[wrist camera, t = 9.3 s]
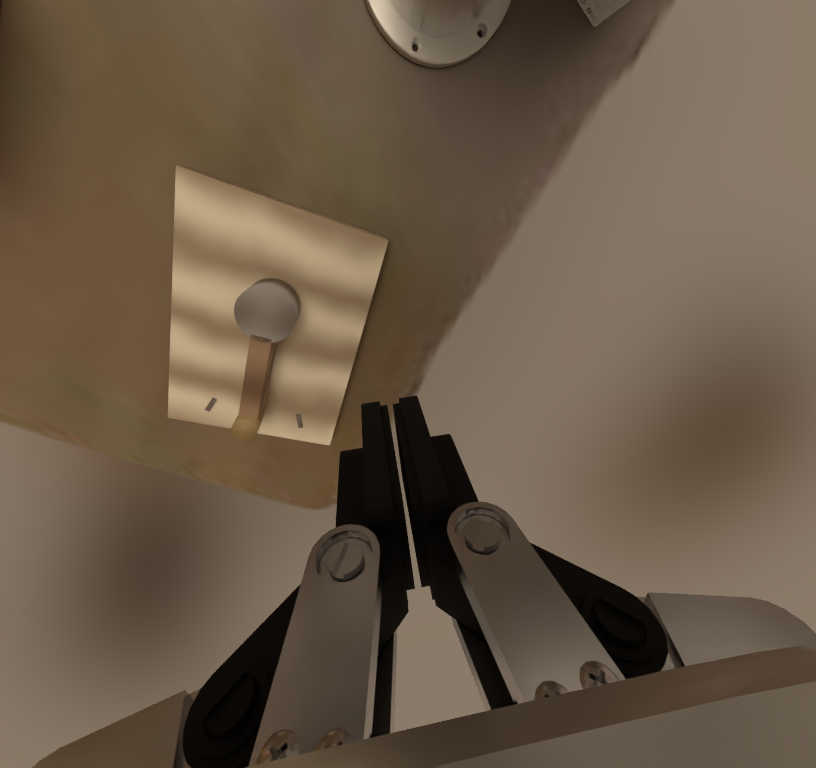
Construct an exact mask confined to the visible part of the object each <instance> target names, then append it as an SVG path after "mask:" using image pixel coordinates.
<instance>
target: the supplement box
mask: <svg viewBox="0 0 816 768" xmlns="http://www.w3.org/2000/svg"><path fill="white" fill-rule="evenodd" d="M629 1H631V0H577V2H578V3H579V5H580V7H581V8H582V10H583V12H584V13H585V15H586V16H587V18H588V19H589V21H590V22H591V24H592V26H593V27H596V26H597V25H598V24H600V23H601V22H603V21H604V20H605V19H607V18H608V17H609V16H611V15H612V14H613V13H614V12H616V11H617V10H618V9H620V8H621V7H622V6H624V5H625V4H627V3H628V2H629Z"/></svg>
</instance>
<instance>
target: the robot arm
mask: <svg viewBox="0 0 816 768" xmlns="http://www.w3.org/2000/svg"><path fill="white" fill-rule="evenodd" d="M365 2H366V5H367V8H368V11H369V13H370V15H371V17H372V19H373V20H374V22H375V24H376V26H377V28H378V30H379V31H380V32H381V34H382V35H383V36H384V38H385V39H386V40H387V42H388V43H389V44H390V45H391V46H392V47H393V48H394V49H395V50H397V51H398V52H399V53H400V54H401V55H402V56H404V57H406V58H407V59H409V60H411V61H412V62H414V63H417V64H420V65H423V66H426V67H435V68H444V67H448V66H453V65H457V64H459V63H461V62H463V61H465V60H467V59H469V58H470V57H471V56H473V55H474V54H475V53H476V52H478V51H479V50H480V49H481V48H482V47H483V46H484V45H485V44H486V43H487V41H488V40H489V39H490V38H491V37H492V35H493V34H494V32H495V31H496V30H497V28H498V27H499V25H500V24H501V22H502V20H503V18H504V16H505V14H506V12H507V10H508V8H509V6H510V3H511V0H365ZM477 32H480V33H481V38H479V36H478V35H477ZM413 45H415V46H416V47H417V49H418V50H417V52H414V51H413V50H412V46H413ZM361 409H362V438H363V448H358V449H352V450H346V451H341V453H340V462H339V479H338V496H337V513H336V528H334V529H332V530H330V531H328V532H327V533H326V534H325V535H323V536H322V537H321V538H320V539H319V540H318V542H317V543H316V544H315V545H314V546H313V548H312V551H311V553H310V555H309V558H308V561H307V564H306V568H305V572H304V575H303V578H302V582H301V584H300V585H299V586H298V587H297V588H296V589H295V590H294V591H293V592H292V593H291V595H290V596H289V597H288V598H287V599H286V600H285V601H284V602H283V603H282V604H281V605H280V606H279V607H278V608H277V609H276V610H275V611H274V612H273V613H272V614H271V615H270V616H269V617H268V618H267V619H266V620H265V621H264V622H263V623H262V624H261V625H260V626H259V627H258V628H257V629H256V630H255V631H254V632H253V634H252V635H251V636H250V637H249V638H248V639H247V640H246V641H245V642H244V643H243V644H242V645H241V646H240V647H239V648H238V649H237V650H236V651H235V652H234V653H233V654H232V655H231V656H230V657H229V658H228V659H227V660H226V661H225V663H223V664H222V665H221V666H220V667H219V668H218V669H217V670H216V672H215V673H214V674H213V675H212V676H211V677H210V678H209V680H208V681H207V682H206V683H205V684H204V686H203V687H202V688H201V689H199V690H197V691H194V692H192V693H190V694H188V693H187V691H186V690H184V691H181V692H179V693H177V694H175V695H173V696H171V697H169V698H166V699H164V700H162V701H160V702H158V703H156V704H153V705H151V706H149V707H147V708H145V709H143V710H141V711H138V712H136V713H134V714H132V715H130V716H128V717H125V718H123V719H121V720H119V721H117V722H115V723H113V724H111V725H108V726H106V727H104V728H102V729H100V730H97V731H95V732H93V733H91V734H89V735H87V736H85V737H83V738H80V739H78V740H76V741H74V742H72V743H69V744H67V745H65V746H63V747H61V748H59V749H58V750H56V751H54V752H53V753H51V754H49V755H48V756H47V757H45V758H43V759H42V760H40V761H39V762H38V763H37V764H36V765H35V766H33V767H32V768H816V633H815V632H814V631H812V630H811V628H809V627H808V626H807V625H806V624H805V623H804V622H803V621H802V620H800V619H799V618H797V617H796V616H794V615H793V614H791V613H790V612H788V611H787V610H785V609H783V608H781V607H779V606H777V605H774V604H772V603H770V602H768V601H764V600H759V599H754V598H747V597H727V596H708V595H707V596H706V595H688V594H668V593H648V594H647V596H646V597H635V596H634V595H633V594H631V593H629V592H628V591H626V590H625V589H623V588H621V587H619V586H617V585H615V584H613V583H610V582H609V581H607V580H605V579H603V578H601V577H598V576H596V575H594V574H592V573H590V572H588V571H586V570H584V569H582V568H580V567H578V566H576V565H574V564H572V563H570V562H568V561H566V560H564V559H562V558H560V557H558V556H556V555H554V554H552V553H550V552H548V551H546V550H544V549H542V548H540V547H538V546H536V545H534V544H532V543H530V542H529V541H528V540H527V538H526V537H525V535H524V534H523V532H522V531H521V530H520V528H519V527H518V525H517V524H516V523H515V521H514V520H513V518H512V517H511V516H510V515H509V514H508V513H507V512H506V511H504V510H503V509H501V508H500V507H498V506H496V505H493V504H490V503H487V502H479V501H478V499H477V497H476V494H475V492H474V490H473V487H472V485H471V482H470V480H469V478H468V475H467V473H466V470H465V468H464V466H463V463H462V461H461V458H460V456H459V454H458V451H457V449H456V446H455V444H454V442H453V439H452V437H451V435H450V434H446V435H439V436H433V437H430V434H429V431H428V428H427V425H426V422H425V418H424V415H423V412H422V409H421V406H420V403H419V400H418V397H417V396H411V397H405V398H399V403H397V404H393V410H394V418H395V425H396V433H397V440H398V448H399V456H400V463H401V471H402V477H403V483H404V489H405V495H406V501H407V506H408V512H409V517H410V524H411V529H412V534H413V541H414V546H415V552H416V558H417V563H418V569H419V575H420V580H421V586H422V587H425V586H430V589H431V594H432V599H433V600H434V599H435V603H436V606H437V607H439V608H440V609H441V610H443V611H444V612H446V613H448V614H449V615H450V616H451V617H452V620H453V625H454V628H455V630H456V632H457V635H458V638H459V641H460V643H461V646H462V649H463V651H464V654H465V657H466V659H467V662H468V664H469V667H470V670H471V672H472V675H473V678H474V680H475V683H476V685H477V688H478V691H479V693H480V696H481V698H482V701H483V704H484V707H485V709H486V712H481V713H476V714H472V715H468V716H463V717H459V718H455V719H450V720H446V721H442V722H437V723H434V724H429V725H425V726H420V727H416V728H412V729H407V730H403V731H399V732H394V717H395V714H394V713H395V686H396V685H395V684H396V653H397V631H396V629H397V628H398V626H399V625H400V623H401V622H402V620H403V619H404V617H405V616H406V614H407V613H408V599H407V592H406V590H410V589H414V588H415V586H414V579H413V571H412V564H411V557H410V549H409V542H408V535H407V528H406V520H405V513H404V506H403V500H402V493H401V487H400V481H399V475H398V469H397V463H396V456H395V450H394V444H393V438H392V432H391V426H390V420H389V413H388V407H387V405H383V406H380V402H379V401H378V402H371V403H365V404H361Z"/></svg>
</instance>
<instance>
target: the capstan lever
mask: <svg viewBox="0 0 816 768" xmlns="http://www.w3.org/2000/svg"><path fill="white" fill-rule="evenodd" d="M300 311H301V303H300V299H299V297H298V295H297V293H296V291H295V290H294V289H293V288H292V287H291V286H290V285H289V284H287V283H286V282H284V281H282V280H279V279H275V278H265V279H261V280H259V281H257V282H256V283H254V284H253V285H252V286H250V287H249V288H248V289H247V290H245V291H244V292H243V293H242V294H240V296H239V297H238V298H237V300H236V302H235V305H234V316H235V320H236V322H237V324H238V326H239V328H240V329H241V330H242V331H243V332H244V333H245V334H246V335H247V336H249V337H250V342H249V348H248V355H247V362H246V368H245V375H244V381H243V388H242V394H241V401H240V408H239V414H238V416H237V418H236V420H235V421H234V423H233V425H232V427H231V430H230V431H231V434H232V436H233V437H234V438H235V439H237V440H239V441H250V440H252V439H254V438H255V436H256V434H257V432H258V429H259V427H260V425H261V422H262V420H263V417H264V409H265V404H266V399H267V393H268V388H269V383H270V378H271V372H272V367H273V362H274V357H275V351H276V346H277V342H278V341H281V340H283V339H284V338H286V337H287V336H288V335H289V334H290V332H291V331H292V329H293V327H294V325H295V323H296V321H297V319H298V317H299V315H300Z"/></svg>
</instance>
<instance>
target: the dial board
mask: <svg viewBox="0 0 816 768" xmlns="http://www.w3.org/2000/svg"><path fill="white" fill-rule="evenodd" d="M388 241H389V240H388V239H387V238H385V237H382V236H379V235H376V234H374V233H371V232H368V231H365V230H362V229H360V228H357V227H354V226H351V225H348V224H346V223H343V222H340V221H337V220H334V219H332V218H329V217H326V216H323V215H320V214H318V213H315V212H312V211H309V210H306V209H304V208H301V207H298V206H295V205H292V204H290V203H287V202H284V201H281V200H278V199H276V198H273V197H270V196H267V195H264V194H262V193H259V192H256V191H253V190H250V189H248V188H245V187H242V186H239V185H236V184H233V183H231V182H228V181H225V180H222V179H219V178H217V177H214V176H211V175H208V174H205V173H203V172H200V171H197V170H194V169H191V168H187V167H183V166H178V165H176V181H175V212H174V243H173V273H172V304H171V335H170V365H169V396H168V418H173V419H179V420H185V421H190V422H196V423H202V424H208V425H214V426H219V427H225V428H231V427H232V425H233V423H234V421H235V420H236V418H237V416H238V414H239V408H240V401H241V394H242V388H243V381H244V375H245V368H246V362H247V355H248V348H249V342H250V337H249V336H247V335H246V334H245V333H244V332H243V331H242V330H241V329H240V328H239V326H238V324H237V322H236V320H235V316H234V305H235V302H236V300H237V298H238V297H239V296H240V294H242V293H243V292H244V291H245V290H247V289H248V288H249V287H250V286H252V285H253V284H254V283H256V282H257V281H259V280H261V279H265V278H275V279H279V280H282V281H284V282H286V283H287V284H289V285H290V286H291V287H292V288H293V289H294V290H295V291H296V293H297V295H298V297H299V299H300V303H301V311H300V315H299V317H298V319H297V321H296V323H295V325H294V327H293V329H292V331H291V332H290V334H289V335H288V336H287V337H286V338H284V339H283V340H281V341H278V342H277V346H276V351H275V357H274V362H273V367H272V372H271V378H270V383H269V388H268V393H267V399H266V404H265V409H264V417H263V420H262V422H261V425H260V427H259V429H258V432H257V433H260V434H266V435H271V436H277V437H283V438H289V439H295V440H300V441H306V442H312V443H318V444H324V445H329V446H330V443H331V439H332V436H333V432H334V429H335V426H336V422H337V419H338V415H339V412H340V408H341V405H342V401H343V398H344V394H345V391H346V387H347V384H348V380H349V377H350V373H351V370H352V366H353V363H354V359H355V356H356V352H357V349H358V345H359V342H360V339H361V335H362V332H363V328H364V325H365V321H366V318H367V314H368V311H369V307H370V304H371V300H372V297H373V293H374V290H375V286H376V283H377V279H378V276H379V272H380V269H381V265H382V262H383V258H384V255H385V251H386V248H387V245H388Z"/></svg>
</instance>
